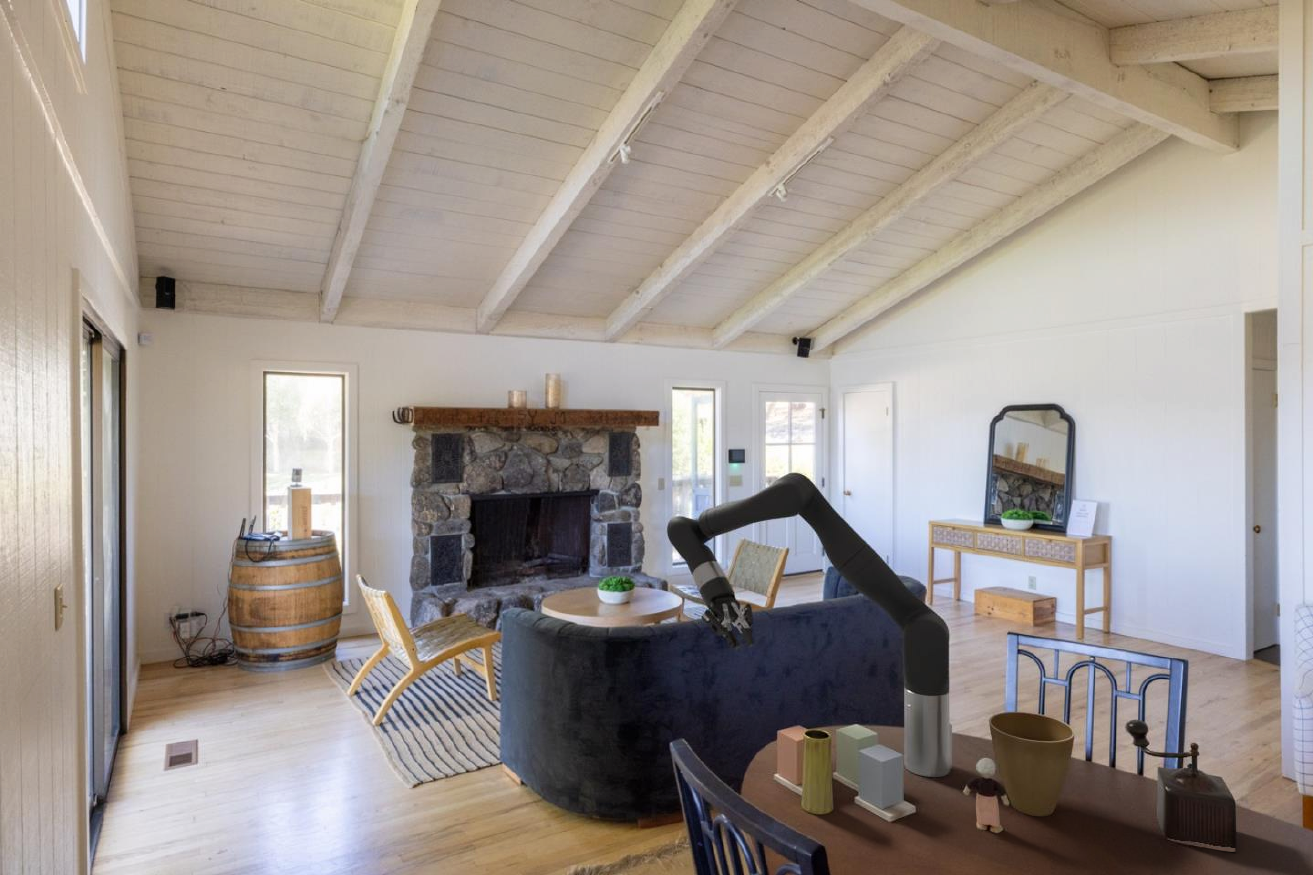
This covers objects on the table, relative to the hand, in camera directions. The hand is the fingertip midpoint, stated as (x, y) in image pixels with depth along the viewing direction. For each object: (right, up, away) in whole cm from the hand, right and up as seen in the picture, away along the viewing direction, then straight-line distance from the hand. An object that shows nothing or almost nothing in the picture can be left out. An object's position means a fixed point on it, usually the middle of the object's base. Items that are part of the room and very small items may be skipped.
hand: (744, 646), depth 173 cm
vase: (+11, -24, -26) cm, 37 cm away
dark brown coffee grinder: (+75, -24, -35) cm, 86 cm away
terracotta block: (+9, -23, -15) cm, 29 cm away
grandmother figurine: (+41, -24, -34) cm, 58 cm away
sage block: (+22, -23, -15) cm, 35 cm away
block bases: (+19, -24, -20) cm, 37 cm away
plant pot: (+53, -24, -26) cm, 64 cm away
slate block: (+24, -23, -25) cm, 42 cm away
